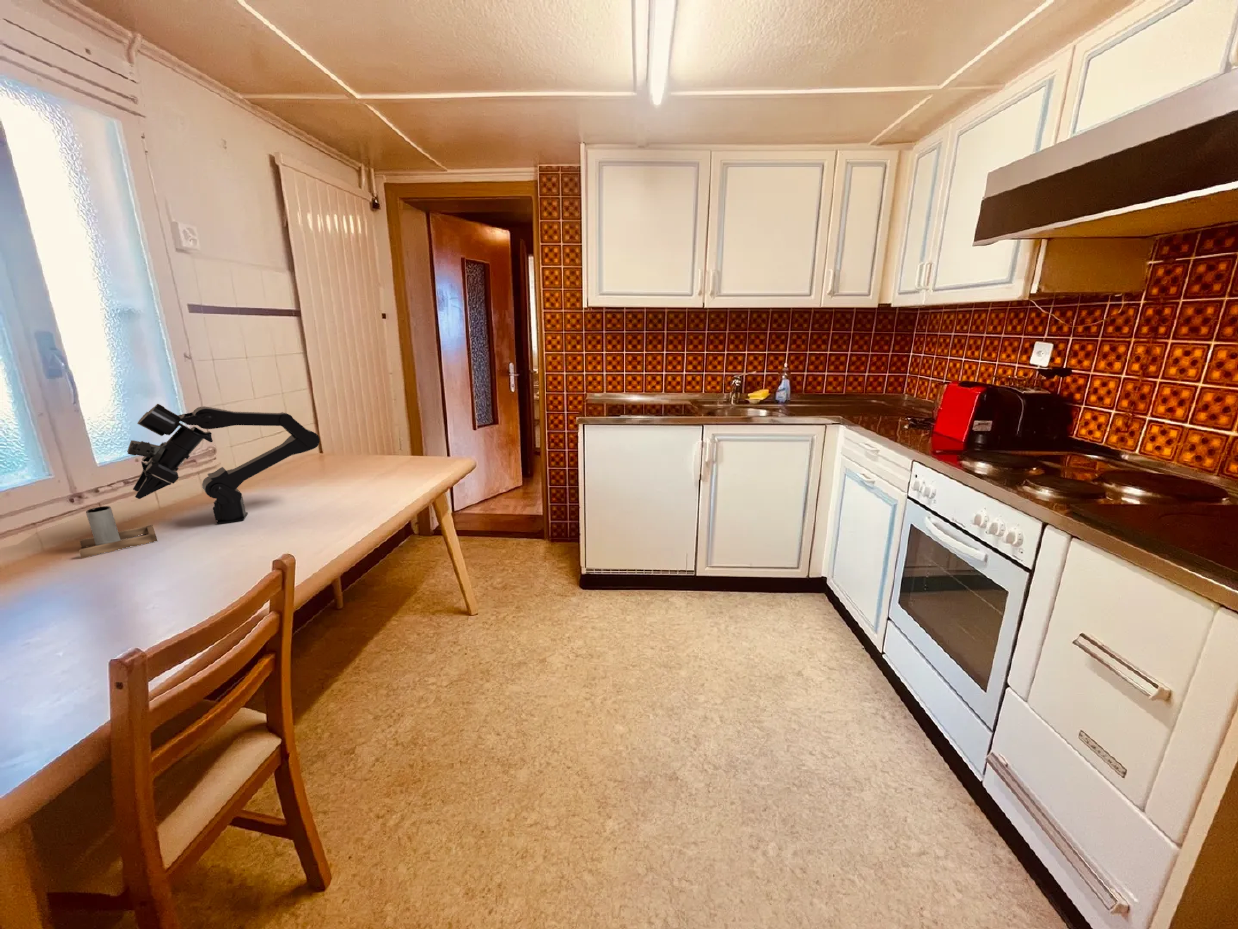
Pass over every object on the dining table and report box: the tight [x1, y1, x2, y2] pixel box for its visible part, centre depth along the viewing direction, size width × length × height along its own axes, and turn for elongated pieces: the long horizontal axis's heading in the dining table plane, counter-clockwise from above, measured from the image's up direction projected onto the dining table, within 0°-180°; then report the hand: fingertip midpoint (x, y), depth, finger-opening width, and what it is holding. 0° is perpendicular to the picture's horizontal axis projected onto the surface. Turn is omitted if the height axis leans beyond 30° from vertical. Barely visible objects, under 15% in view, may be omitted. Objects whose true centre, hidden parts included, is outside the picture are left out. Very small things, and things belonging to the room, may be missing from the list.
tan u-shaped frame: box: [78, 524, 158, 559], centre depth 131 cm, size 14×10×2 cm
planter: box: [85, 505, 121, 546], centre depth 128 cm, size 4×4×10 cm
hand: (136, 494), depth 132 cm, fingers open, 9 cm apart
